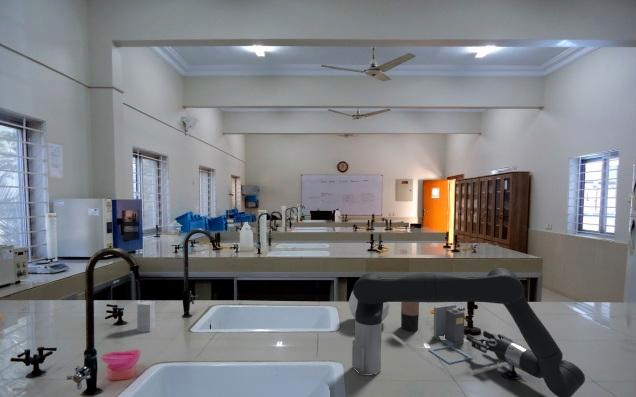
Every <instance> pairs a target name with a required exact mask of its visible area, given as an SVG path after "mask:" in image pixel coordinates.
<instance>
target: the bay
mask: <svg viewBox="0 0 636 397" xmlns="http://www.w3.org/2000/svg"><path fill="white" fill-rule="evenodd" d="M453 308H456V309H457V304H455V303H453V304H446V305H438V306H434V307H433V337H434V338H436V339H437V338H438V339H437V340H439V339H440V337H439V336H444V335H445V334H446V310H450V309H453ZM439 341H441V342H442V343H444V344H446V345H452V346H454V345H459V344H464V343H468V342H469V343H470V341H468V340H467V339H466V338H465V337H464V342H460V343H455V344H454V343H452V342H450V341H449V340H447V339H446V340H441V339H440V340H439Z"/></svg>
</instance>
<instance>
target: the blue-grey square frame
mask: <svg viewBox="0 0 636 397" xmlns="http://www.w3.org/2000/svg"><path fill="white" fill-rule="evenodd" d="M449 348H450V349H452V350H454V351H455V352H457V353H459V354H461V355H462V356H464V357H462V358H457V359H453V360H452V359H451V360H449V359H447V358H446V357H444V356H442V355H441V354H440V353H438V352H436V351H441V350H445V349H449ZM427 351H428V352H430V353H431V354H433V355H434V356H435V357H438V358H439V359H441V360H442V361H444V362H445V363H447V364H448V365H452V364H456V363H462V362H464V361H471V360H473V357H472V356H471V355H470V354H467V353H465V352H464V351H462V350H461V349H458V348H457V347H455V346H454V345H448V344H446V345H443V346H437V347H432V348H428V349H427Z"/></svg>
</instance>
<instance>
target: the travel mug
mask: <svg viewBox="0 0 636 397" xmlns="http://www.w3.org/2000/svg"><path fill="white" fill-rule="evenodd" d="M400 306H401V309H400V311H401V312H400V321H401V322H400V326H401V327H400V328H401V330H403V331H406V332H409V333H414V332H417V331H419V316H420V302H401V305H400Z"/></svg>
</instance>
